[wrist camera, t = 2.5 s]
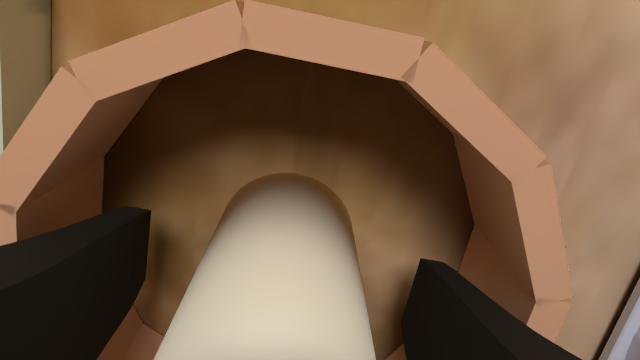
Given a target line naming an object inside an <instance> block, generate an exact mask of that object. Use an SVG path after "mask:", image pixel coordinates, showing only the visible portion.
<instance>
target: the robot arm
mask: <svg viewBox="0 0 640 360" xmlns="http://www.w3.org/2000/svg"><path fill="white" fill-rule="evenodd" d="M150 217H151V210H146V209H141V208H135V207H129V206H126V207H121V208H117V209H114V210H111V211H108V212H105V213H102V214H100V215H97V216H94V217H91V218H88V219H86V220H83V221H80V222H77V223H74V224H71V225H69V226H66V227H63V228H60V229H56V230H53V231H50V232H47V233H44V234H40V235H37V236H34V237H31V238H28V239H24V240H21V241H17V242H13V243H9V244H5V245H2V246H0V360H97V358H98V357H99V355H100V354H101V352H102V351H103V349H104V348H105V346H106V345H107V343H108V342H109V341H110V339H111V338H112V336H113V335H114V333H115V332H116V330H117V329H118V327H119V326H120V324H121V323H122V321H123V320H124V318H125V317H126V315H127V314H128V312H129V311H130V309H131V307H132V305H133V303H134V301H135V299H136V297H137V295H138V293H139V291H140V289H141V287H142V284H143V282H144V280H145V276H146V264H147V252H148V240H149V229H150ZM401 325H402V334H403V342H404V349H405V355H406V359H407V360H582V359H580V358H578V357H576V356H575V355H573V354H571V353H569V352H568V351H566V350H564V349H563V348H561V347H559V346H558V345H556V344H555V343H553V342H551V341H550V340H548V339H547V338H545V337H543V336H542V335H540V334H539V333H537V332H536V331H534V330H533V329H531V328H530V327H528V326H527V325H526V324H524V323H523V322H521V321H520V320H519V319H517V318H516V317H514V316H513V315H512V314H510V313H509V312H508V311H506V310H505V309H504V308H502V307H501V306H500V305H498V304H497V303H496V302H495V301H493V300H492V299H491V298H489V297H488V296H487V295H486V294H484V293H483V292H482V291H481V290H479V289H478V288H477V287H476V286H474V285H473V284H472V283H471V282H469V281H468V280H467V279H466V278H464V277H463V276H462V275H461V274H459V273H458V272H457V271H455V270H454V269H453V268H451V267H450V266H448V265H447V264H445V263H443V262H439V261H433V260H428V259H422V258H421V259H420V262H419V265H418V269H417V272H416V275H415V278H414V281H413V285H412V288H411V291H410V294H409V297H408V301H407V304H406V307H405V310H404V313H403V317H402V320H401ZM599 360H640V278H639V280H638V282H637V284H636V286H635V288H634V290H633V292H632V294H631V296H630V298H629V300H628V302H627V304H626V306H625V308H624V310H623V312H622V314H621V316H620V318H619V320H618V322H617V324H616V326H615V328H614V330H613V332H612V334H611V336H610V338H609V340H608V342H607V344H606V346H605V348H604V350H603V352H602V354H601V356H600V358H599Z"/></svg>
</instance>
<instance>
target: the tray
mask: <svg viewBox="0 0 640 360" xmlns="http://www.w3.org/2000/svg"><path fill="white" fill-rule="evenodd" d="M50 82H51V0H0V156H1V154H2V153H3V151H4V150H5V148H6V147H7V145H8V144H9V143H10V141H11V140H12V138H13V137H14V135H15V134H16V132H17V131H18V129H19V128H20V126H21V125H22V123H23V122H24V120H25V119H26V117H27V116H28V114H29V113H30V112H31V110H32V109H33V107H34V106H35V104H36V103H37V101H38V100H39V98H40V97H41V95H42V94H43V92H44V91H45V89H46V88H47V86H48V85H49V84H50Z"/></svg>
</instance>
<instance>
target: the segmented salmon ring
mask: <svg viewBox="0 0 640 360" xmlns="http://www.w3.org/2000/svg"><path fill="white" fill-rule="evenodd" d="M424 39H425V38H423V37H418V36H413V35H409V34H404V33H399V32H395V31H390V30H386V29H381V28H376V27H372V26H367V25H362V24H358V23H353V22H349V21H344V20H339V19H335V18H330V17H325V16H321V15H316V14H312V13H307V12H302V11H298V10H293V9H288V8H284V7H279V6H275V5H270V4H265V3H261V2H256V1H251V0H245V2H242V1H238V0H233V1H230V2H227V3H225V4H222V5H219V6H216V7H214V8H211V9H208V10H206V11H203V12H200V13H197V14H195V15H192V16H189V17H187V18H184V19H181V20H178V21H176V22H173V23H170V24H167V25H165V26H162V27H159V28H157V29H154V30H151V31H148V32H146V33H143V34H140V35H138V36H135V37H132V38H129V39H127V40H124V41H121V42H118V43H116V44H113V45H110V46H108V47H105V48H102V49H99V50H97V51H94V52H91V53H89V54H86V55H83V56H80V57H78V58H75V59H72V60H70V61H68V62H69V64H70V65H67V66H61V67H60V69H59V70H58V72H57V73H56V75H55V76H54V78H53V79H52V81H51V82H50V84H49V85H48V86H47V88H46V89H45V91H44V92H43V94H42V95H41V97H40V98H39V100H38V101H37V103H36V104H35V106H34V107H33V109H32V110H31V112H30V113H29V114H28V116H27V117H26V119H25V120H24V122H23V123H22V125H21V126H20V128H19V129H18V131H17V132H16V134H15V135H14V137H13V138H12V140H11V141H10V143H9V144H8V145H7V147H6V148H5V150H4V151H3V153H2V154H1V156H0V246H2V245H5V244H9V243H13V242H17V241H21V240H24V239H28V238H31V237H34V236H37V235H40V234H44V233H47V232H50V231H53V230H56V229H60V228H63V227H66V226H69V225H71V224H74V223H77V222H80V221H83V220H86V219H88V218H91V217H94V216H97V215H100V214H102V200H103V179H104V157H105V154H106V153H107V152H108V150H109V149H110V148H111V147H112V145H113V144H114V143H115V141H116V140H117V139H118V137H119V136H120V135H121V133H122V132H123V131H124V129H125V128H126V127H127V125H128V124H129V123H130V121H131V120H132V119H133V117H134V116H135V115H136V113H137V112H138V111H139V109H140V108H141V107H142V105H143V104H144V103H145V102H146V100H147V99H148V98H149V96H150V95H151V94H152V92H153V91H154V90H155V88H156V87H157V86H158V84H159V83H160V82H161V80H162V79H163V78H164V77H166V76H169V75H171V74H174V73H177V72H180V71H183V70H185V69H188V68H191V67H194V66H197V65H200V64H202V63H205V62H208V61H211V60H214V59H216V58H219V57H222V56H225V55H228V54H230V53H233V52H236V51H239V50H242V49H245V48H247V49H252V50H256V51H261V52H266V53H271V54H276V55H280V56H285V57H290V58H295V59H300V60H304V61H309V62H314V63H319V64H324V65H329V66H333V67H338V68H343V69H348V70H353V71H357V72H362V73H367V74H372V75H377V76H381V77H386V78H391V79H395V80H396V81H397V82H398V83H400V84H401V85H402V86H403V87H404V88H405V89H406V90H407V91H408V92H409V93H410V94H411V95H412V96H413V97H414V98H415V99H416V100H417V101H419V102H420V103H421V104H422V105H423V106H424V107H425V108H426V109H427V110H428V111H429V112H430V113H431V114H432V115H433V116H434V117H435V118H436V119H438V120H439V121H440V122H441V123H442V124H443V125H444V126H445V127H446V128H447V129H448V130H449V131H450V132H451V133H452V134H453V137H454V141H455V145H456V149H457V153H458V157H459V161H460V166H461V170H462V174H463V178H464V182H465V186H466V190H467V195H468V199H469V203H470V207H471V211H472V215H473V219H474V224H475V225H474V228H473V231H472V233H471V236H470V239H469V242H468V245H467V248H466V251H465V253H464V256H463V259H462V262H461V265H460V268H459V271H458V273H459V274H461V275H462V276H463V277H464V278H466V279H467V280H468V281H469V282H471V283H472V284H473V285H474V286H476V287H477V288H478V289H479V290H481V291H482V292H483V293H484V294H486V295H487V296H488V297H489V298H491V299H492V300H493V301H495V302H496V303H497V304H498V305H500V306H501V307H502V308H504V309H505V310H506V311H508V312H509V313H510V314H512V315H513V316H514V317H516V318H517V319H519V320H520V321H521V322H523V323H524V324H526V325H527V326H528V327H530V328H531V329H533V330H534V331H536V332H537V333H539V334H540V335H542V336H543V337H545V338H547V339H548V340H550V341H551V342H553V343H555V341H556V339H557V337H558V335H559V332H560V330H561V328H562V326H563V324H564V321H565V319H566V317H567V315H568V313H569V310H570V308H571V306H572V302H571V301H570V300H569V299H568V298H572V297H574V296H573V291H572V285H571V279H570V273H569V267H568V261H567V255H566V249H565V244H564V238H563V232H562V226H561V220H560V214H559V208H558V202H557V196H556V191H555V185H554V179H553V173H552V167H551V164H550V163H549V162H547V161H545V160H544V159H546V158H547V156H546V155H545V154H544V153H543V152H542V151H541V150H540V149H539V148H538V147H537V146H536V145H535V144H534V143H533V142H532V141H531V140H530V139H529V138H528V137H527V136H526V135H525V134H524V133H523V132H522V131H521V130H520V129H519V128H518V127H517V126H516V125H515V124H514V123H513V122H512V121H511V120H510V119H509V118H508V117H507V116H506V115H505V114H504V113H503V112H502V111H501V110H500V109H499V108H498V107H497V106H496V105H495V104H494V103H493V102H492V101H491V100H490V99H489V98H488V97H487V96H486V95H485V94H484V93H483V92H482V91H481V90H480V89H479V88H478V87H477V86H476V85H475V84H474V83H473V82H472V81H471V80H470V79H469V78H468V77H467V76H466V75H465V74H464V73H463V72H462V71H461V70H460V69H459V68H458V67H457V66H456V65H455V64H454V63H453V62H452V61H451V60H450V59H449V58H448V57H447V56H446V55H445V54H444V53H443V52H442V51H441V50H440V49H439V48H438V47H437V46H436V45H435V44H434V43H433V42H428V41H424ZM163 339H164V337H163V336H162V335H160V334H159V333H157V332H156V331H154V330H153V329H151V328H150V327H148V326H147V325H145V324H143V322H142V320H141V318H140V317H139V315H138V313H137V311H136V310H135V308H134V306H133V305H132V307H131V309H130V311H129V312H128V314H127V315H126V317H125V318H124V320H123V321H122V323H121V324H120V326H119V327H118V329H117V330H116V332H115V333H114V335H113V336H112V338H111V339H110V341H109V342H108V343H107V345H106V346H105V348H104V349H103V351H102V352H101V354H100V355H99V357H98V358H97V360H153V359H154V357H155V355H156V353H157V351H158V349H159V347H160V345H161V343H162V341H163ZM385 360H407V359H406V355H405V349H404V343H403V344H402V345H401V346H400V347H399V348H398V349H396V350H395V351H394V352H393V353H392V354H391V355H390V356H388V357H387V358H386V359H385Z"/></svg>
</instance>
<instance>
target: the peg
mask: <svg viewBox="0 0 640 360" xmlns="http://www.w3.org/2000/svg"><path fill="white" fill-rule="evenodd" d="M153 360H376V357H375V352H374V346H373V341H372V335H371V329H370V324H369V318H368V313H367V307H366V301H365V296H364V290H363V285H362V279H361V274H360V268H359V262H358V257H357V251H356V246H355V240H354V235H353V229H352V223H351V220H350V216H349V213H348V211H347V209H346V207H345V205H344V204H343V202H342V201H341V199H340V198H339V197H338V196H337V194H336V193H334V192H333V191H332V190H331V189H330V188H329V187H327V186H326V185H325V184H323V183H321V182H319V181H318V180H316V179H313V178H311V177H308V176H304V175H301V174H294V173H276V174H270V175H266V176H263V177H260V178H257V179H255V180H253V181H251V182H250V183H248V184H246V185H245V186H244V187H242V188H241V189H240V190H239V191H238V192H237V193H236V194H235V195H234V196H233V197H232V199H231V200H230V201H229V203H228V205H227V207H226V209H225V211H224V213H223V215H222V217H221V219H220V221H219V223H218V225H217V228H216V230H215V232H214V234H213V236H212V238H211V240H210V242H209V244H208V246H207V248H206V251H205V253H204V255H203V257H202V259H201V261H200V263H199V265H198V267H197V269H196V272H195V274H194V276H193V278H192V280H191V282H190V284H189V286H188V288H187V290H186V292H185V295H184V297H183V299H182V301H181V303H180V305H179V307H178V309H177V311H176V313H175V315H174V318H173V320H172V322H171V324H170V326H169V328H168V330H167V332H166V334H165V336H164V339H163V341H162V343H161V345H160V347H159V349H158V351H157V353H156V355H155V357H154V359H153Z"/></svg>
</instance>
